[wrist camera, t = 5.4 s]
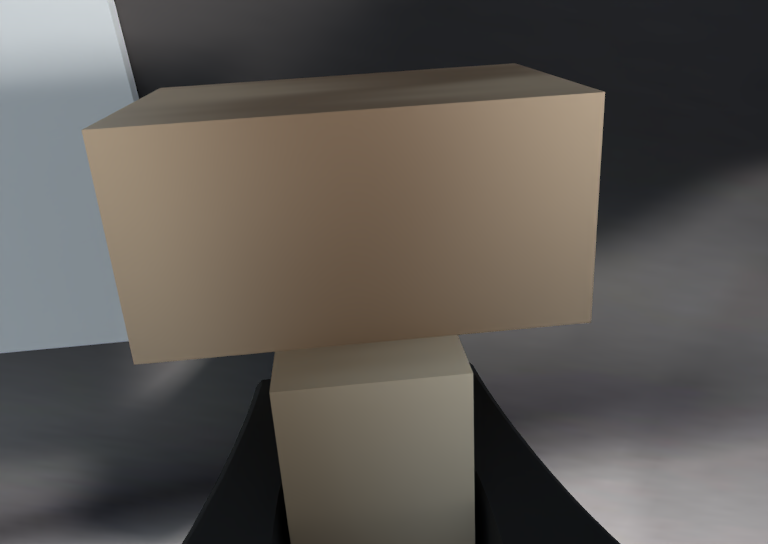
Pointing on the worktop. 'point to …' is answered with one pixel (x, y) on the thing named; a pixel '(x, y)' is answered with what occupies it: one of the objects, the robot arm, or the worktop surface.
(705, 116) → the worktop surface
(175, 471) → the worktop surface
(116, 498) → the worktop surface
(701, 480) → the worktop surface
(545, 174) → the tan boxy piece
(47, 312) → the grey mat
